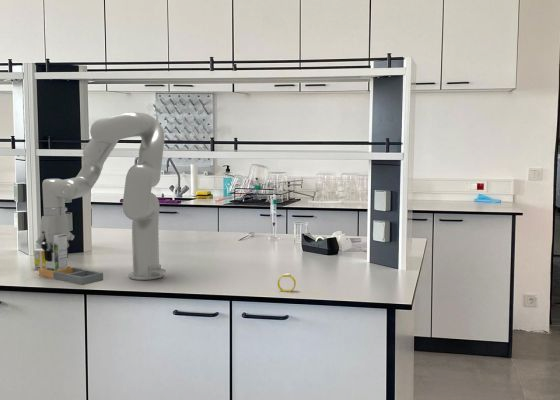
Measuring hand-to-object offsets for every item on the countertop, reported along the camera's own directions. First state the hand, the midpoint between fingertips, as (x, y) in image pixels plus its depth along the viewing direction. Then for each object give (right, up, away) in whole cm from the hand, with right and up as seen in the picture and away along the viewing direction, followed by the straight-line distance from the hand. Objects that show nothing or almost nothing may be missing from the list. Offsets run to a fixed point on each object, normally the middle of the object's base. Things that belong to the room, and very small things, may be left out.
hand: (56, 258), depth 232 cm
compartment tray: (+7, -6, -4) cm, 10 cm away
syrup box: (0, -5, +1) cm, 5 cm away
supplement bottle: (-10, -5, +11) cm, 16 cm away
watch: (+86, -9, -25) cm, 90 cm away
